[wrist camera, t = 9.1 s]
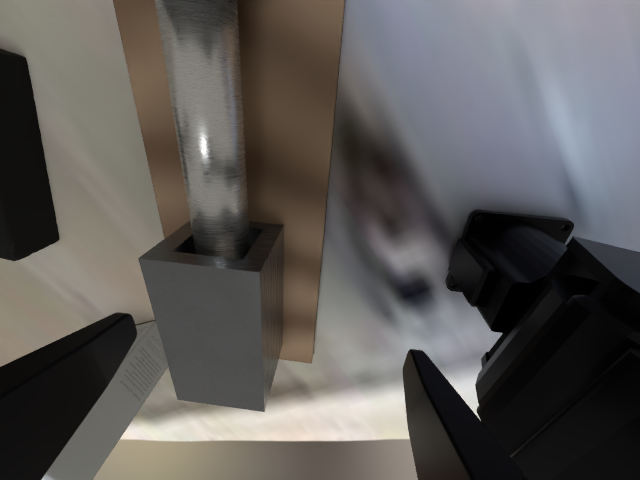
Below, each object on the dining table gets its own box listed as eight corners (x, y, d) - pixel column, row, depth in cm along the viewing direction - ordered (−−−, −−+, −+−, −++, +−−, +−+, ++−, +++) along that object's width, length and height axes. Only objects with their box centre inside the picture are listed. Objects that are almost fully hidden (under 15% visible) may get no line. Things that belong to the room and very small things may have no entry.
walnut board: (313, 354, 26) (311, 363, 25) (193, 338, 27) (188, 347, 26) (371, -292, 10) (373, -330, 9) (66, -296, 11) (40, -332, 10)
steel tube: (273, 264, 20) (251, 312, 15) (208, 256, 20) (167, 301, 16) (270, -194, 10) (208, -430, 6) (146, -198, 11) (-9, -429, 6)
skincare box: (137, 358, 29) (15, 506, 18) (111, 330, 27) (-39, 475, 17) (183, 348, 28) (80, 502, 17) (158, 318, 26) (27, 468, 15)
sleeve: (282, 344, 24) (264, 411, 19) (214, 335, 25) (177, 399, 19) (284, 224, 19) (259, 272, 14) (196, 215, 19) (138, 258, 14)
